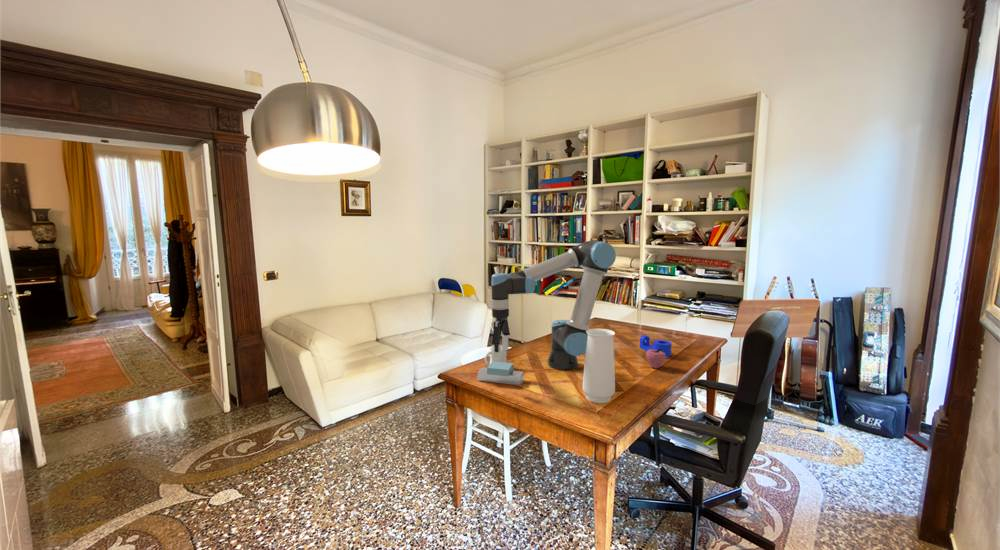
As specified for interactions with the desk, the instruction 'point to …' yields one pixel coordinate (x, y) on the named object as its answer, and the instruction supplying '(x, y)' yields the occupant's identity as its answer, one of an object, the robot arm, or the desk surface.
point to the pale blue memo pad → (500, 368)
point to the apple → (655, 358)
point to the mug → (491, 353)
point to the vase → (599, 366)
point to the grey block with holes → (501, 377)
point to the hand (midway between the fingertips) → (501, 353)
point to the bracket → (656, 345)
